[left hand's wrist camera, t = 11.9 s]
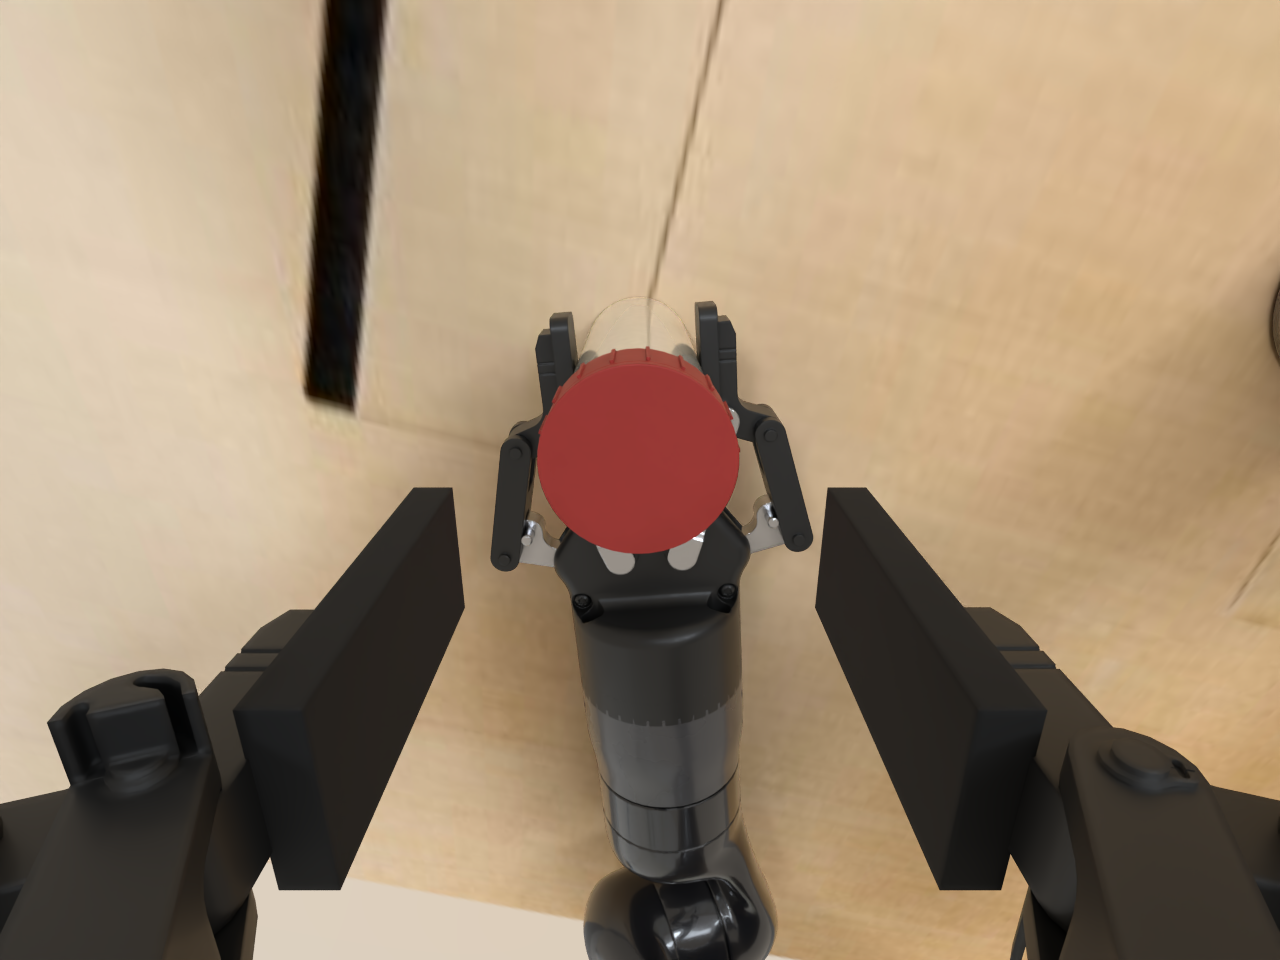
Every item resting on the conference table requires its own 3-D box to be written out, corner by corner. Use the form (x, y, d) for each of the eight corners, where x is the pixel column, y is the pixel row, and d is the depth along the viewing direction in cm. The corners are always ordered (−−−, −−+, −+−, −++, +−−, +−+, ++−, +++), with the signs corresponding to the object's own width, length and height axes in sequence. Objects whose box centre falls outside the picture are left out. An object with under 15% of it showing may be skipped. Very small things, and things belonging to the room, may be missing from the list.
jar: (673, 410, 34) (697, 557, 20) (576, 384, 34) (530, 516, 20) (702, 313, 33) (753, 397, 18) (601, 284, 32) (571, 347, 18)
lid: (700, 542, 22) (706, 575, 20) (526, 498, 21) (514, 528, 19) (757, 375, 20) (770, 394, 18) (567, 323, 19) (559, 335, 17)
